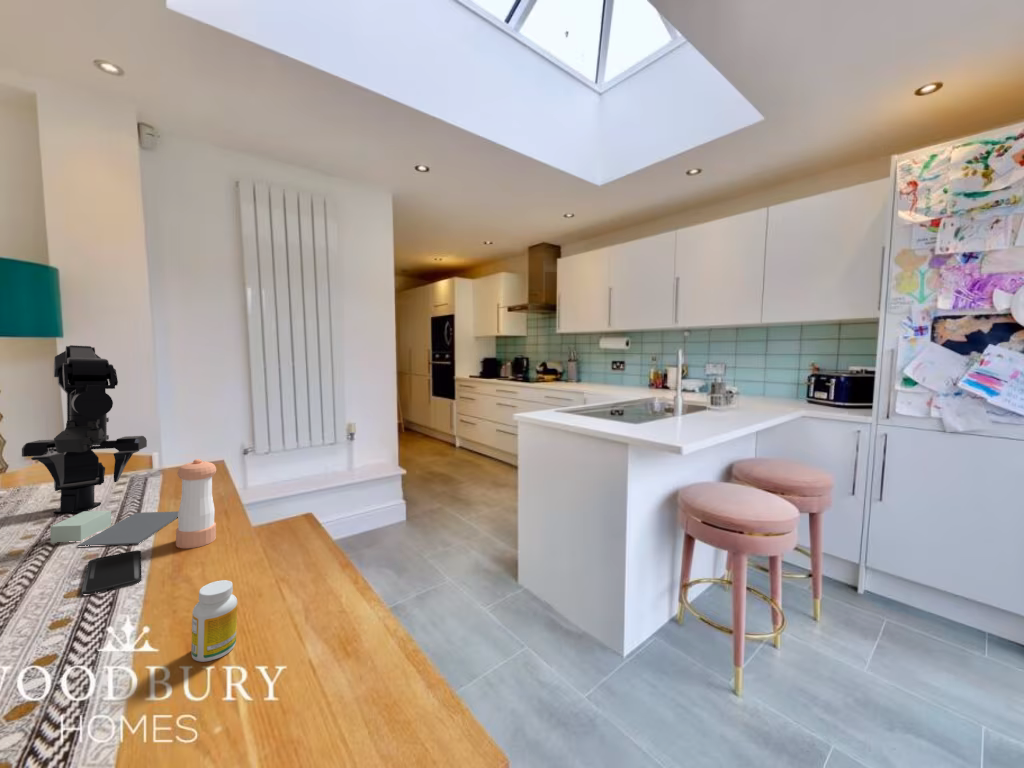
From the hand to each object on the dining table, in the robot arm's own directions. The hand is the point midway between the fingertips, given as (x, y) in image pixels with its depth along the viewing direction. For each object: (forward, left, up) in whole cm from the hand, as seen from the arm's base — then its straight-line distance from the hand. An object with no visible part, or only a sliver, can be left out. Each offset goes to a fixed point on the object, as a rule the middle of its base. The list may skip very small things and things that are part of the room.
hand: (88, 483), depth 91 cm
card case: (-3, -3, -13) cm, 14 cm away
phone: (+17, +15, -13) cm, 26 cm away
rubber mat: (-5, +6, -13) cm, 15 cm away
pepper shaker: (+4, +23, -13) cm, 27 cm away
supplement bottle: (+43, +43, -13) cm, 62 cm away
